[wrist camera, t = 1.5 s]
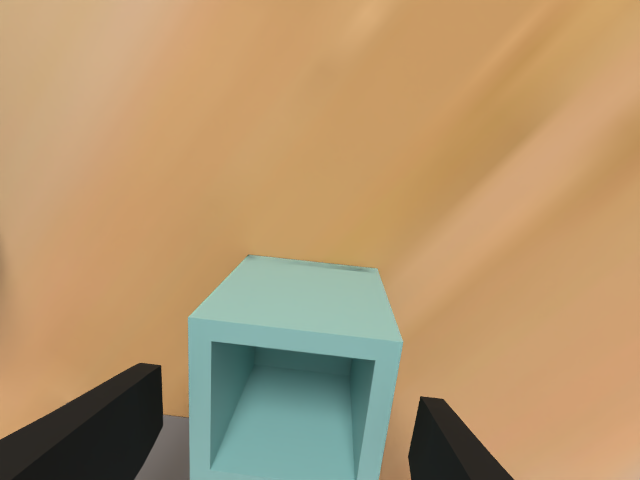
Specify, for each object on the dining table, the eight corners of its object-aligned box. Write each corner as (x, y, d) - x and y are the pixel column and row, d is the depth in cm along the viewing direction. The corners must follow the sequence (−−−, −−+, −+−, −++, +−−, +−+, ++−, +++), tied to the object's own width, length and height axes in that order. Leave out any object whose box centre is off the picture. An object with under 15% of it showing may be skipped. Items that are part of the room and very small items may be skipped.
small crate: (377, 268, 13) (403, 341, 8) (360, 380, 14) (373, 508, 9) (248, 254, 13) (188, 317, 8) (244, 366, 15) (189, 483, 9)
